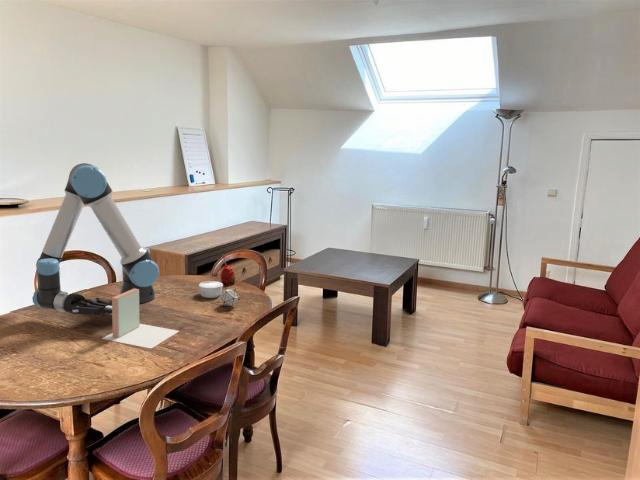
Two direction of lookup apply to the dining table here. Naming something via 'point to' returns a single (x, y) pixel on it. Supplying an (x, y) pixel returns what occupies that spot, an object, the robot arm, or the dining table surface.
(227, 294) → the game die
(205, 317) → the dining table surface
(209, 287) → the ramekin
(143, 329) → the rubber mat
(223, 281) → the red clay folk toy
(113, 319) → the terracotta tile
